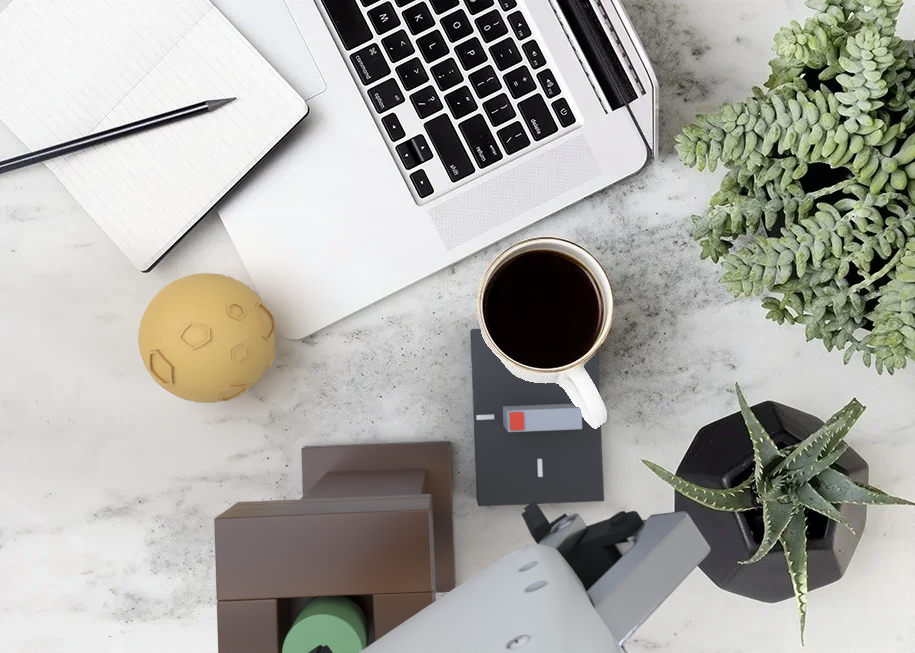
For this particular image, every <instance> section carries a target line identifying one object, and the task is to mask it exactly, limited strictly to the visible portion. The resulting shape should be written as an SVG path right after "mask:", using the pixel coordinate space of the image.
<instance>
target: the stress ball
mask: <svg viewBox="0 0 915 653" xmlns="http://www.w3.org/2000/svg"><path fill="white" fill-rule="evenodd" d="M139 323H140V324H139V327H138V328H139V329H138V348H139V349H138V350H139V354H140V357H141V360H142V362H143V365H144V367H145V368H146V370H147V372H148V374H149V375H150V377H151V378H152V380H154V381H155V383H157V384H158V385H159V386H160V387H161V388H162V389H164V390H165V391H166V392H168V393H170V394H171V395H173V396H175V397H177V398H180V399H182V400H185V401H189V402H194V403H201V404H210V403H219V402H229V401H230V400H233V399H235V398H238V397H239V396H240V395H242V394H244V393H246V392H247V391H249V389H250V388H251V387H253V386H254V385H255V384H256V383H257V382H258V381H259V380H260V378H261V377H262V376H263V375H264V373H265V372H266V370H267V369H268V370H270V369H271V366H272V365H273V362H274V360H275V356H276V353H277V350H276V349H275V343H276V342H275V341H276V336H275V331H276V322H275V318H274V316H273V314H272V312H271V311H270V310H269V308H268V307H267V305H266V303H265V302H264V301H263V299H262V298H261V297H260V296H259V295H258V293H256V291H255V290H253V289H252V288H250V287H249V286H248V285H247V284H246V283H244V282H242V281H240V280H238V279H236V278H234V277H231V276H228V275H225V274H219V273H209V272H203V273H193V274H190V275H186V276H185V275H184V276H183V277H180V278H178V279H176V280H174V281H172V282H170V283H168V284H167V285H165V286H164V287H163V288H161V289H160V290H159V291H158V293H156V294H155V295H154V296H153V297H152V299H151V300H150V302H149V303H148V304H147V306H146V308H145V310H144V312H143V314H142V317H141V320H140V322H139Z"/></svg>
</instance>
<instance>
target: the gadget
mask: <svg viewBox="0 0 915 653" xmlns="http://www.w3.org/2000/svg"><path fill="white" fill-rule="evenodd" d="M480 329H481V328H471V329H470V330H469V333H470V334H469V335H470V336H469V338H470V357H471V358H470V359H471V361H470V362H471V384H472V385H471V386H472V388H471V389H472V408H473V409H472V410H473V411H472V412H473V436H474V437H473V438H474V462H475V463H474V464H475V487H476V488H475V490H476V503H477V506H478V507H491V506H492V507H495V506H498V507H499V506H517V505H518V506H521V505H529V504H530V503H532V502H533V501H535V502H536V503H537V505H543V504H544V505H546V504H567V503H571V504H572V503H591V502H595V503H596V502H604V501H605V486H604V462H603V442H602V425H601V426H600V427H598V428H597V429H594V428H592V427H591V426H590V425H589V424H588V423H587V422H586V421H585V420H584V418H583V417H582V429H576V430H552V431H527V432H508V431H507V430H506V429H505V427H504V426H503V407H504V406H525V405H550V404H573V403H572V401H571V399H570V398H569V396H568V395H567V393H566V392H565V390H564V389H563V388H562V387H560V386H559V384H556V383H546V384H545V383H534V382H529V381H525V380H523V379H521V378H518V377H516V376H515V375H513V374H512V373H511V372H510V371H509V370H508V369H507V368H506V367H505V365H504V364H503V363H502V362H501V360H500V359H499V358H498V357H497V356H496V355H495V354H494V353H493V352H492V350H491V349H490V348H489V347H488V346H487V344H486V343H485V341H484V339H483V337H482V334H481V330H480ZM598 351H599V350H598ZM598 351H597V352H596V353H595V355H594V356H593V357H592V358H591V359H590V360H589V361H588V362H587V363H586V364H585V365H584V368H585V370H586V371H587V373H588V374H589V376H590V378H591V379H592V381H593V383H594V384H595V386H596V388H597V390H598V392H599V393H600V378H599V377H600V375H599V354H598V353H599V352H598ZM573 405H574V404H573Z"/></svg>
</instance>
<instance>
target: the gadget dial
mask: <svg viewBox="0 0 915 653" xmlns="http://www.w3.org/2000/svg"><path fill="white" fill-rule="evenodd" d="M503 426H504V427H505V429H506V430H507V431H508V432H527V431H552V430H576V429H582V413H581V409H580V408H579V407H576V406H575V405H573V404H550V405H525V406H504V407H503Z"/></svg>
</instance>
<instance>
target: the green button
mask: <svg viewBox="0 0 915 653" xmlns="http://www.w3.org/2000/svg"><path fill="white" fill-rule="evenodd" d="M368 639H369V625H368V621H367V618H366V616H365V614H364V612H363V611H362V609H361V608H360V607H359V606H358V605H357V604H356V603H355V602H354V601H352V600H350V599H348V598H346V597H343V596H320V597H318V598H316V599H314V600H312V601H311V602H309V603H308V604H307V605H306V606H305V607H304V608H303V609H302V610H301V612H300V614H299V615H298V617H297V619H296V620H295V622H294V624H293V626H292V627H291V629H290V631H289V633H288V634H287V636H286V639H285V641H284V644H283V649H282V653H308V652H310V651H311V650H313V649H314V648H316V647H317V646H319V645H322V646H323V647H324V646H325V645H327V646H328V647H329V648H330V649H331V651H332V652H333V653H359V652H361V651H362V650H364V649H365V648H366V647H367V643H368Z"/></svg>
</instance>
